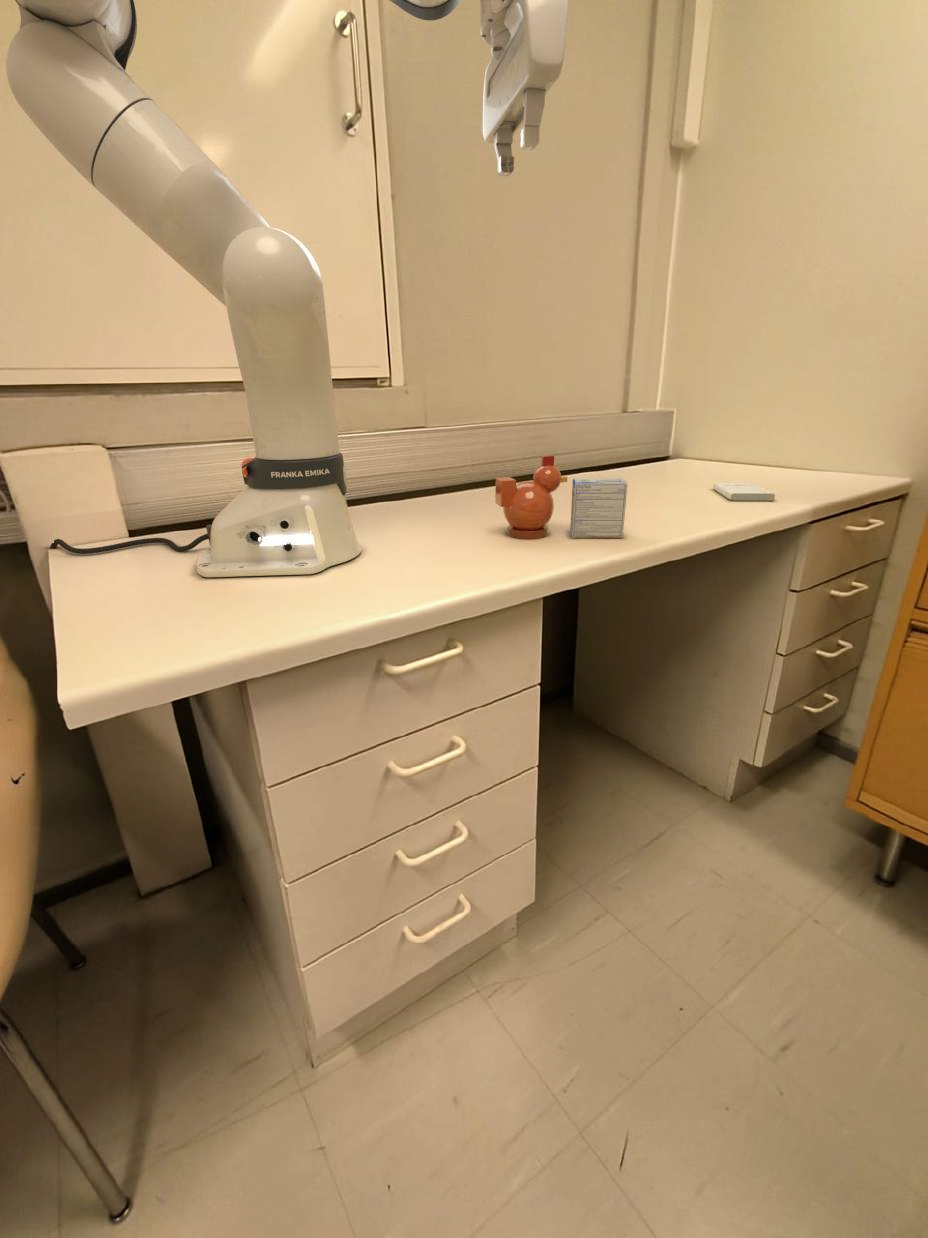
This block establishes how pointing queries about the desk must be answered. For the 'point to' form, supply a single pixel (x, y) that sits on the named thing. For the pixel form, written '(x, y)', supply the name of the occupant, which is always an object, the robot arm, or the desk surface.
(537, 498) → the ceramic hen
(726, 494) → the hard drive
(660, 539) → the desk surface
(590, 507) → the medicine box
